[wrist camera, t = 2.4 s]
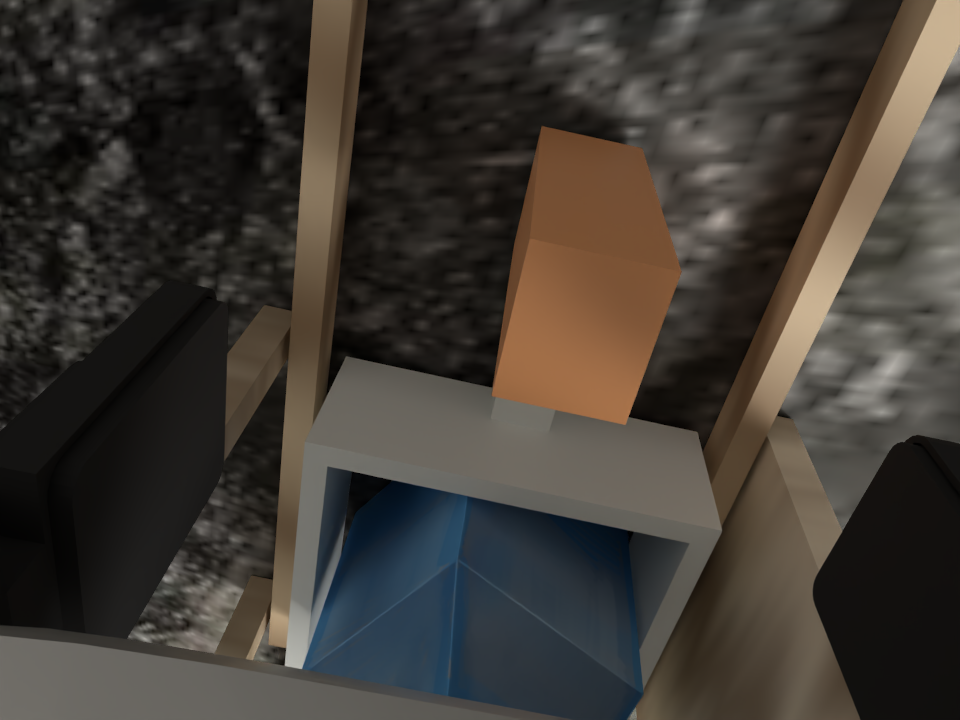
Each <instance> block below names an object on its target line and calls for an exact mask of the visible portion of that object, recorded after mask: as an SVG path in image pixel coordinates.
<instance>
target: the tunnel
mask: <svg viewBox="0 0 960 720" xmlns="http://www.w3.org/2000/svg"><path fill="white" fill-rule="evenodd" d="M291 316H292V311H290V310H285V309H281V308H276V307H271V306H267V305H264V306H263V307H262V309H261V310H260V311H259V313H258V314H257V315H256V317H255V318H254V319H253V320H252V322H251V323H250V324H249V326H248V327H247V328H246V330H245V331H244V332H243V334H242V335H241V336H240V338H239V339H238V340H237V342H236V343H235V344H234V346H233V347H232V348H231V350H230V351H229V352H228V354H227V384H226V418H225V452H224V461H225V460H226V458H227V456H228V455H229V453H230V451H231V450H232V448H233V447H234V445H235V443H236V442H237V440H238V438H239V437H240V435H241V433H242V432H243V430H244V429H245V427H246V425H247V424H248V422H249V420H250V419H251V417H252V416H253V414H254V412H255V411H256V409H257V407H258V406H259V404H260V402H261V401H262V399H263V398H264V396H265V394H266V393H267V391H268V389H269V388H270V386H271V385H272V383H273V381H274V380H275V378H276V376H277V375H278V373H279V371H280V370H281V368H282V367H283V365H284V363H285V362H286V360H287V358H288V357H289V344H290V330H291ZM721 528H722V533H721V535H720V537H719V539H718V541H717V543H716V545H715V547H714V549H713V551H712V553H711V555H710V557H709V559H708V561H707V563H706V565H705V567H704V569H703V571H702V573H701V575H700V577H699V579H698V581H697V583H696V585H695V587H694V589H693V591H692V593H691V595H690V597H689V599H688V601H687V603H686V605H685V607H684V609H683V611H682V613H681V615H680V617H679V619H678V621H677V623H676V625H675V627H674V629H673V631H672V633H671V635H670V637H669V639H668V641H667V643H666V645H665V647H664V649H663V651H662V653H661V656H660V658H659V660H658V662H657V664H656V666H655V668H654V670H653V672H652V674H651V676H650V678H649V680H648V682H647V684H646V686H645V688H644V690H643V692H644V695H643V696H642V698H641V699H640V701H639V702H638V704H637V705H636V712H637V720H860V717H859V715H858V712H857V710H856V707H855V705H854V702H853V700H852V697H851V695H850V692H849V690H848V687H847V685H846V682H845V680H844V677H843V675H842V672H841V670H840V667H839V665H838V662H837V660H836V657H835V655H834V652H833V650H832V647H831V645H830V642H829V640H828V637H827V634H826V632H825V629H824V627H823V624H822V622H821V619H820V617H819V614H818V612H817V609H816V607H815V604H814V601H813V584H814V580H815V578H816V575H817V574H818V572H819V570H820V569H821V567H822V565H823V563H824V562H825V560H826V558H827V557H828V555H829V553H830V552H831V550H832V548H833V546H834V545H835V543H836V541H837V540H838V538H839V536H840V535H841V533H842V529H841V527H840V525H839V523H838V520H837V518H836V516H835V514H834V511H833V509H832V507H831V505H830V502H829V500H828V498H827V496H826V493H825V491H824V489H823V487H822V484H821V482H820V480H819V478H818V475H817V473H816V471H815V469H814V466H813V464H812V462H811V460H810V457H809V455H808V453H807V451H806V448H805V446H804V444H803V442H802V439H801V437H800V435H799V433H798V430H797V428H796V426H795V424H794V421H793V419H789V418H784V417H779V416H776V418H775V420H774V422H773V424H772V426H771V428H770V430H769V432H768V434H767V436H766V438H765V440H764V442H763V444H762V446H761V448H760V450H759V452H758V454H757V456H756V458H755V460H754V462H753V464H752V466H751V468H750V470H749V472H748V474H747V476H746V479H745V481H744V483H743V485H742V487H741V489H740V491H739V493H738V495H737V497H736V499H735V501H734V503H733V505H732V507H731V509H730V511H729V513H728V515H727V517H726V519H725V521H724V523H723V525H722V527H721ZM272 588H273V580H271V579H266V578H262V577H257V576H252V575H251V577H250V579H249V581H248V583H247V586H246V588H245V590H244V592H243V594H242V596H241V598H240V600H239V603H238V605H237V607H236V609H235V611H234V613H233V615H232V618H231V620H230V622H229V624H228V626H227V628H226V630H225V632H224V635H223V637H222V639H221V641H220V643H219V645H218V647H217V650H216V652H215V654H219V655H224V656H230V657H236V658H242V659H248V660H253V658H254V656H255V653H256V651H257V648H258V646H259V644H260V641H261V639H262V636H263V634H264V632H265V629H266V627H267V624H268V622H269V619H270V616H271V602H272Z"/></svg>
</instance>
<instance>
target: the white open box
mask: <svg viewBox="0 0 960 720" xmlns="http://www.w3.org/2000/svg"><path fill="white" fill-rule="evenodd" d="M681 272H682V271H681V268H680V265H679V262H678V259H677V256H676V253H675V250H674V246H673V243H672V240H671V237H670V234H669V231H668V228H667V224H666V221H665V218H664V215H663V212H662V209H661V206H660V203H659V199H658V196H657V193H656V190H655V187H654V184H653V181H652V178H651V174H650V171H649V168H648V165H647V162H646V159H645V156H644V153H643V149H642V148H639V147H634V146H630V145H625V144H621V143H616V142H612V141H607V140H603V139H598V138H594V137H589V136H585V135H580V134H576V133H571V132H567V131H562V130H558V129H553V128H549V127H544V126H542V127H541V131H540V135H539V140H538V144H537V148H536V152H535V157H534V161H533V165H532V170H531V174H530V178H529V182H528V187H527V191H526V195H525V200H524V204H523V208H522V212H521V217H520V221H519V225H518V230H517V234H516V238H515V242H514V249H513V255H512V262H511V269H510V275H509V282H508V289H507V295H506V302H505V309H504V315H503V322H502V329H501V335H500V342H499V349H498V355H497V362H496V369H495V375H494V382H493V388H491V387H486V386H482V385H477V384H472V383H468V382H463V381H458V380H454V379H449V378H444V377H440V376H435V375H431V374H426V373H421V372H417V371H412V370H407V369H403V368H398V367H393V366H389V365H384V364H380V363H375V362H370V361H366V360H361V359H356V358H352V357H347V356H346V358H345V360H344V362H343V364H342V366H341V368H340V370H339V372H338V374H337V376H336V378H335V380H334V383H333V385H332V387H331V389H330V391H329V393H328V395H327V397H326V399H325V401H324V403H323V405H322V407H321V409H320V411H319V413H318V415H317V418H316V420H315V422H314V424H313V426H312V428H311V430H310V432H309V434H308V436H307V438H306V440H305V445H304V456H303V467H302V478H301V490H300V501H299V512H298V523H297V534H296V546H295V557H294V568H293V579H292V590H291V602H290V613H289V624H288V635H287V646H286V657H285V666H288V667H293V668H299V669H302V667H303V664H304V661H305V658H306V655H307V652H308V650H309V647H310V644H311V641H312V638H313V635H314V632H315V629H316V626H317V623H318V621H319V618H320V615H321V612H322V609H323V606H324V603H325V600H326V597H327V594H328V591H329V589H330V586H331V583H332V580H333V577H334V574H335V571H336V568H337V565H338V562H339V559H340V557H341V551H342V543H343V536H344V528H345V521H346V513H347V506H348V499H349V491H350V484H351V476H352V472H357V473H362V474H366V475H371V476H376V477H380V478H385V479H390V480H394V481H399V482H404V483H409V484H413V485H418V486H423V487H427V488H432V489H437V490H441V491H446V492H451V493H456V494H460V495H465V496H470V497H474V498H479V499H484V500H488V501H493V502H498V503H502V504H507V505H512V506H517V507H521V508H526V509H531V510H535V511H540V512H545V513H549V514H554V515H559V516H563V517H568V518H573V519H578V520H582V521H587V522H592V523H596V524H601V525H606V526H610V527H615V528H620V529H625V530H629V531H634V533H633V535H632V538H631V540H630V543H629V552H630V562H631V572H632V582H633V592H634V602H635V612H636V622H637V632H638V642H639V652H640V662H641V672H642V682H643V690H644V688H645V686H646V684H647V682H648V680H649V678H650V676H651V674H652V672H653V670H654V668H655V666H656V664H657V662H658V660H659V658H660V656H661V653H662V651H663V649H664V647H665V645H666V643H667V641H668V639H669V637H670V635H671V633H672V631H673V629H674V627H675V625H676V623H677V621H678V619H679V617H680V615H681V613H682V611H683V609H684V607H685V605H686V603H687V601H688V599H689V597H690V595H691V593H692V591H693V589H694V587H695V585H696V583H697V581H698V579H699V577H700V575H701V573H702V571H703V569H704V567H705V565H706V563H707V561H708V559H709V557H710V555H711V553H712V551H713V549H714V547H715V545H716V543H717V541H718V539H719V537H720V535H721V533H722V528H721V524H720V520H719V516H718V512H717V508H716V504H715V500H714V496H713V492H712V488H711V484H710V480H709V476H708V472H707V468H706V464H705V460H704V456H703V452H702V448H701V444H700V440H699V436H698V432H695V431H690V430H686V429H681V428H676V427H672V426H667V425H662V424H658V423H653V422H648V421H644V420H639V419H635V418H630V417H629V414H630V411H631V409H632V406H633V403H634V400H635V398H636V395H637V392H638V389H639V387H640V384H641V381H642V379H643V376H644V373H645V370H646V368H647V365H648V362H649V359H650V357H651V354H652V351H653V348H654V346H655V343H656V340H657V338H658V335H659V332H660V329H661V327H662V324H663V321H664V318H665V316H666V313H667V310H668V308H669V305H670V302H671V299H672V297H673V294H674V291H675V288H676V286H677V283H678V280H679V278H680V275H681ZM631 714H632V713H631ZM630 716H631V715H630ZM630 716H629V718H630ZM629 718H628V719H627V720H629Z"/></svg>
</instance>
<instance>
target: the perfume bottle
mask: <svg viewBox="0 0 960 720" xmlns="http://www.w3.org/2000/svg"><path fill="white" fill-rule="evenodd" d="M302 669H304V670H310V671H315V672H320V673H326V674H331V675H337V676H342V677H347V678H353V679H358V680H363V681H369V682H374V683H380V684H385V685H390V686H396V687H401V688H407V689H412V690H417V691H423V692H428V693H434V694H439V695H444V696H450V697H455V698H461V699H466V700H471V701H477V702H482V703H488V704H493V705H498V706H504V707H509V708H514V709H519V710H525V711H530V712H535V713H540V714H546V715H551V716H556V717H561V718H567V719H572V720H627V719H628V718H629V716H630V715H631V713H632V712H633V710H634V708H635V707H636V705H637V704H638V702H639V701H640V699H641V698H642V696H643V695H644V692H643V682H642V672H641V662H640V652H639V642H638V632H637V622H636V612H635V602H634V592H633V582H632V572H631V562H630V552H629V542H628V532H627V530H625V529H620V528H615V527H610V526H606V525H601V524H596V523H592V522H587V521H582V520H578V519H573V518H568V517H563V516H559V515H554V514H549V513H545V512H540V511H535V510H531V509H526V508H521V507H517V506H512V505H507V504H502V503H498V502H493V501H488V500H484V499H479V498H474V497H470V496H465V495H460V494H456V493H451V492H446V491H441V490H437V489H432V488H427V487H423V486H418V485H413V484H409V483H404V482H399V481H394V480H393V481H392V482H390V483H389V484H388V485H387V486H386V487H385V488H383V489H382V490H381V491H380V492H379V493H378V494H376V495H375V496H374V497H373V498H372V499H371V500H369V501H368V502H367V503H366V504H365V505H364V506H362V507H361V508H360V509H359V510H358V511H357V512H356V513H355V516H354V519H353V522H352V525H351V527H350V530H349V533H348V536H347V539H346V542H345V545H344V548H343V551H342V554H341V557H340V559H339V562H338V565H337V568H336V571H335V574H334V577H333V580H332V583H331V586H330V589H329V591H328V594H327V597H326V600H325V603H324V606H323V609H322V612H321V615H320V618H319V621H318V623H317V626H316V629H315V632H314V635H313V638H312V641H311V644H310V647H309V650H308V652H307V655H306V658H305V661H304V664H303V667H302Z"/></svg>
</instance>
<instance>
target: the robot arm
mask: <svg viewBox="0 0 960 720" xmlns="http://www.w3.org/2000/svg"><path fill="white" fill-rule="evenodd" d="M227 349H228V306H227V304H226V302H222V301H217V299H216V294H215V292H214V290H213V289H211V288H206V287H201V286H196V285H192V284H187V283H182V282H177V281H172V280H169V281H167V282H166V283H164V284H163V285H162V286H161V287H160V288H159V289H158V290H157V291H156V292H155V293H154V294H153V295H152V296H151V297H150V298H148V299H147V300H146V301H145V302H144V303H143V304H142V305H141V306H140V307H139V308H138V309H137V310H136V311H135V312H134V313H133V314H132V315H130V316H129V317H128V318H127V319H126V320H125V321H124V322H123V323H122V324H121V325H120V326H119V327H118V328H117V329H116V330H115V331H113V332H112V333H111V334H110V335H109V336H108V337H107V338H106V339H105V340H104V341H103V342H102V343H101V344H100V345H99V346H98V347H97V348H95V349H94V350H93V351H92V352H91V353H90V354H89V355H88V356H87V357H86V358H85V359H84V360H83V361H78V362H76V363H75V364H73V365H72V366H70V367H69V368H68V369H67V370H66V371H65V372H64V373H62V374H61V375H60V376H59V377H58V378H57V379H56V380H55V381H54V382H53V383H52V384H51V385H50V386H48V387H47V388H46V389H45V390H44V391H43V392H42V393H41V394H40V395H39V396H38V397H37V398H36V399H35V400H33V401H32V402H31V403H30V404H29V405H28V406H27V407H26V408H25V409H24V410H23V411H22V412H21V413H19V414H18V415H17V416H16V417H15V418H14V419H13V420H12V421H11V422H10V423H9V424H8V425H7V426H6V427H4V428H3V429H2V430H1V431H0V720H572V719H567V718H561V717H556V716H551V715H546V714H540V713H535V712H530V711H525V710H519V709H514V708H509V707H504V706H498V705H493V704H488V703H482V702H477V701H471V700H466V699H461V698H455V697H450V696H444V695H439V694H434V693H428V692H423V691H417V690H412V689H407V688H401V687H396V686H390V685H385V684H380V683H374V682H369V681H363V680H358V679H353V678H347V677H342V676H337V675H331V674H326V673H320V672H315V671H310V670H304V669H299V668H293V667H288V666H283V665H277V664H271V663H266V662H260V661H254V660H248V659H242V658H236V657H230V656H224V655H219V654H213V653H207V652H201V651H195V650H189V649H183V648H178V647H172V646H166V645H160V644H153V643H147V642H141V641H135V640H129V639H127V637H128V636H129V634H130V632H131V631H132V629H133V627H134V626H135V624H136V622H137V620H138V619H139V617H140V615H141V614H142V612H143V610H144V608H145V607H146V605H147V603H148V602H149V600H150V598H151V596H152V595H153V593H154V591H155V590H156V588H157V586H158V584H159V583H160V581H161V579H162V578H163V576H164V574H165V573H166V571H167V569H168V567H169V566H170V564H171V562H172V561H173V559H174V557H175V555H176V554H177V552H178V550H179V549H180V547H181V545H182V543H183V542H184V540H185V538H186V537H187V535H188V533H189V531H190V530H191V528H192V526H193V525H194V523H195V521H196V520H197V518H198V516H199V514H200V513H201V511H202V509H203V508H204V506H205V504H206V502H207V501H208V499H209V497H210V496H211V494H212V492H213V490H214V489H215V487H216V485H217V483H218V481H219V479H220V476H221V473H222V469H223V464H224V452H225V418H226V384H227ZM813 601H814V604H815V607H816V609H817V612H818V614H819V617H820V619H821V622H822V624H823V627H824V629H825V632H826V634H827V637H828V640H829V642H830V645H831V647H832V650H833V652H834V655H835V657H836V660H837V662H838V665H839V667H840V670H841V672H842V675H843V677H844V680H845V682H846V685H847V687H848V690H849V692H850V695H851V697H852V700H853V702H854V705H855V707H856V710H857V712H858V715H859V717H860V720H960V444H958V443H954V442H949V441H945V440H940V439H935V438H930V437H925V436H920V435H916V436H912V437H910V438H909V439H907V440H906V441H905V443H904V442H900V443H897V444H896V445H894V446H893V447H892V449H891V450H890V451H889V453H888V455H887V456H886V458H885V460H884V461H883V463H882V465H881V467H880V468H879V470H878V472H877V473H876V475H875V477H874V478H873V480H872V482H871V484H870V485H869V487H868V489H867V490H866V492H865V494H864V495H863V497H862V499H861V501H860V502H859V504H858V506H857V507H856V509H855V511H854V512H853V514H852V516H851V518H850V519H849V521H848V523H847V524H846V526H845V528H844V529H843V531H842V533H841V535H840V536H839V538H838V540H837V541H836V543H835V545H834V546H833V548H832V550H831V552H830V553H829V555H828V557H827V558H826V560H825V562H824V563H823V565H822V567H821V569H820V570H819V572H818V574H817V575H816V578H815V580H814V584H813Z"/></svg>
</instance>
